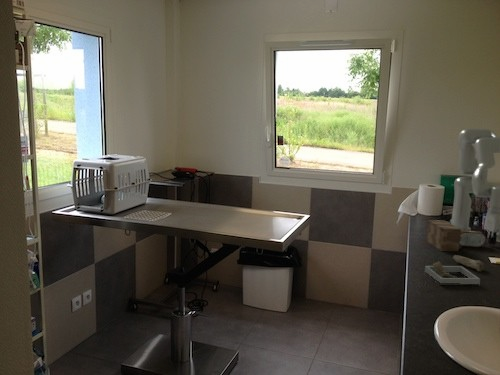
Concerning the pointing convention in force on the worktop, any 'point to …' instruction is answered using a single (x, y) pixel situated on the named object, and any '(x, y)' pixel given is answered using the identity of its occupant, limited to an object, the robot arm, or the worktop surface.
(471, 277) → the frame
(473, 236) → the tin
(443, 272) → the vertebra
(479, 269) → the bone fragment
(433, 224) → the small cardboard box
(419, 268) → the worktop surface
